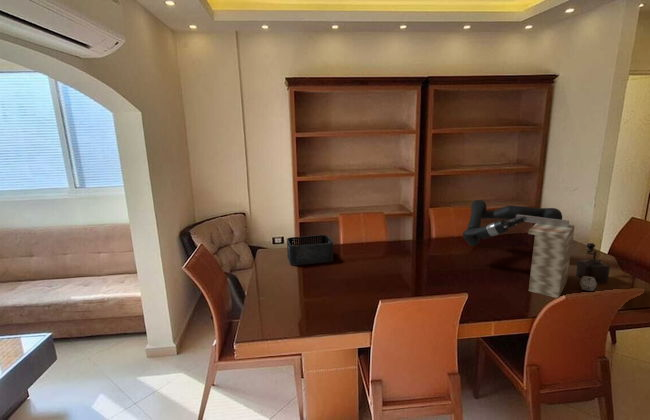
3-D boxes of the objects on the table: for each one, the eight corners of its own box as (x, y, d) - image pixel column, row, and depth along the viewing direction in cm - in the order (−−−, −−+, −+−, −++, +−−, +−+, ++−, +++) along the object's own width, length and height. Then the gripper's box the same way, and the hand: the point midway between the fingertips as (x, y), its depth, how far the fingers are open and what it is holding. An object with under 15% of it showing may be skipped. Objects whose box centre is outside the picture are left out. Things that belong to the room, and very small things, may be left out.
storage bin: (327, 252, 244) (326, 233, 241) (334, 261, 226) (334, 242, 223) (286, 256, 238) (285, 237, 235) (290, 266, 219) (289, 246, 216)
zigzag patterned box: (522, 289, 181) (528, 229, 174) (533, 274, 198) (539, 220, 191) (558, 298, 171) (566, 235, 163) (566, 282, 188) (574, 224, 181)
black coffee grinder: (609, 283, 186) (614, 251, 182) (588, 283, 186) (593, 251, 182) (587, 271, 201) (592, 241, 197) (568, 272, 201) (572, 242, 197)
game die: (581, 296, 180) (570, 277, 183) (597, 290, 179) (586, 272, 183) (589, 295, 172) (578, 276, 175) (606, 289, 171) (595, 270, 174)
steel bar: (515, 220, 192) (516, 215, 192) (517, 219, 195) (517, 214, 194) (567, 227, 177) (568, 221, 176) (568, 226, 179) (569, 220, 178)
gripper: (490, 224, 197) (519, 214, 186) (497, 219, 207) (525, 209, 196) (496, 237, 196) (525, 227, 185) (503, 231, 206) (532, 221, 195)
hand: (525, 218), depth 190 cm, fingers open, 8 cm apart
